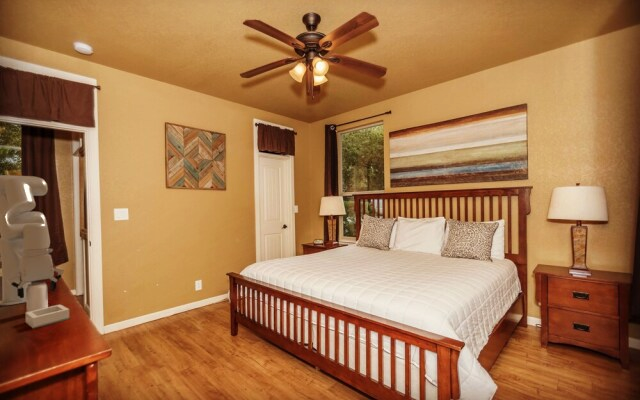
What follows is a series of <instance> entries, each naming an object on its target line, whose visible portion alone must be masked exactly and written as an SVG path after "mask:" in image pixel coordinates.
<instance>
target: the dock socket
mask: <svg viewBox="0 0 640 400" xmlns="http://www.w3.org/2000/svg"><path fill="white" fill-rule="evenodd" d="M69 319H70V309H69V308H68V307H66V306H64V305H62V304H56V305H51V306H48V307H47V308H43V309H39V310H34V311H30V312H27V311H25V323H26V324H27V325H28V326H29V327H31V328H32V329H37V328H40V327H44V326H49V325H52V324H56V323H60V322H63V321H68V320H69Z"/></svg>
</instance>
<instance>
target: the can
mask: <svg viewBox="0 0 640 400" xmlns="http://www.w3.org/2000/svg"><path fill="white" fill-rule="evenodd" d="M48 292H49V289H48V284H47V282H46V281H35V282H31V284H28V287H27V289H26V302H25V303H26V312H30V311H34V310H39V309H43V308H47V307H49V304H48V303H49V301H48V300H49V297H48V296H49V294H48Z"/></svg>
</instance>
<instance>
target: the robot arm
mask: <svg viewBox="0 0 640 400" xmlns="http://www.w3.org/2000/svg"><path fill="white" fill-rule="evenodd" d="M48 191H49V188H48V183H47V182H46V181H45V179H43V178H41V177H38V176H33V175H8V174H7V175H6V174H4V175H3V174H1V175H0V259H1V280H2V281H1V282H2V283H1V284H2V286H1V287H2V291H1V292H2V299H1V300H0V306H12V305H19V304H23V303H26V289H27V287H28V284H31V283H34V282H40V281H44V280H50V283H49V284H50V287H49V288H50V292H52V293H54V292H56V289H57V282H58V280H59V279H61V278H62V276H63V274H64V272H65V270H64V269H59V268H55V267H54V263H53V259H52V255H51V254H50V253H52V252H53V251H54V249H53V248H50V246H51V245H50V244H51V239H50V233H49V227H48V222H47V219H46V216H45V214H44V213H43V212H40V211H32V210H34V209H35V208H36V205H37V204H36V201H35V196H36V197H37V196H42V197H43V196H45V195H46V194H47V193H48ZM55 272H57V275H56V276H54V275H55Z"/></svg>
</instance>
